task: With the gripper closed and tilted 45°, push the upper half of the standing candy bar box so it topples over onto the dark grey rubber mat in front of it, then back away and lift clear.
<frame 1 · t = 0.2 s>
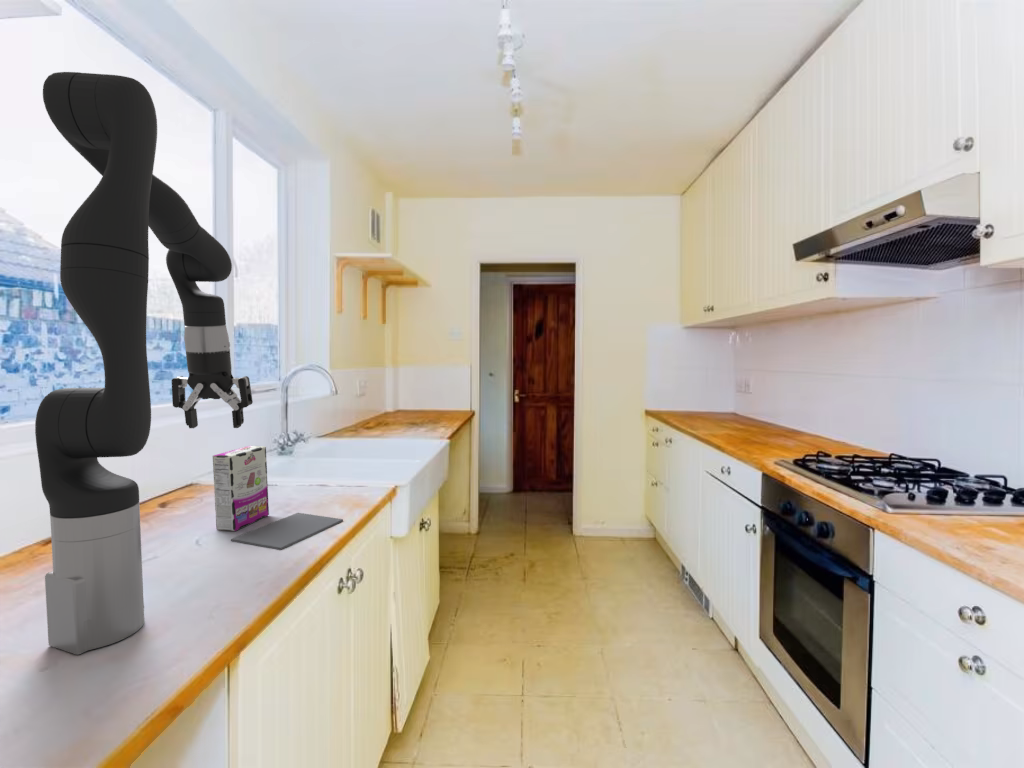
hand: (215, 427, 103), 23 cm above the countertop, tool pointing down, fingers open, 8 cm apart
candy bar box: (243, 523, 113), on the countertop
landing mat: (290, 530, 108), on the countertop
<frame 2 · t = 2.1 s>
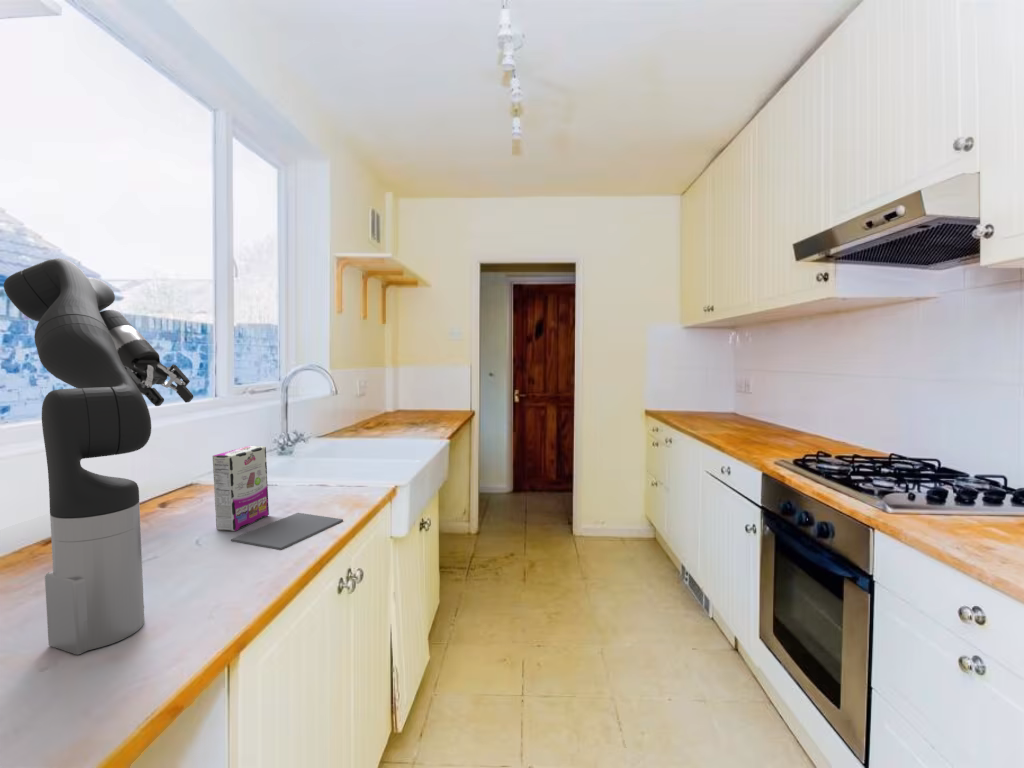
hand: (175, 401, 114), 27 cm above the countertop, tool tilted 45°, fingers open, 7 cm apart
nothing on the countertop moved.
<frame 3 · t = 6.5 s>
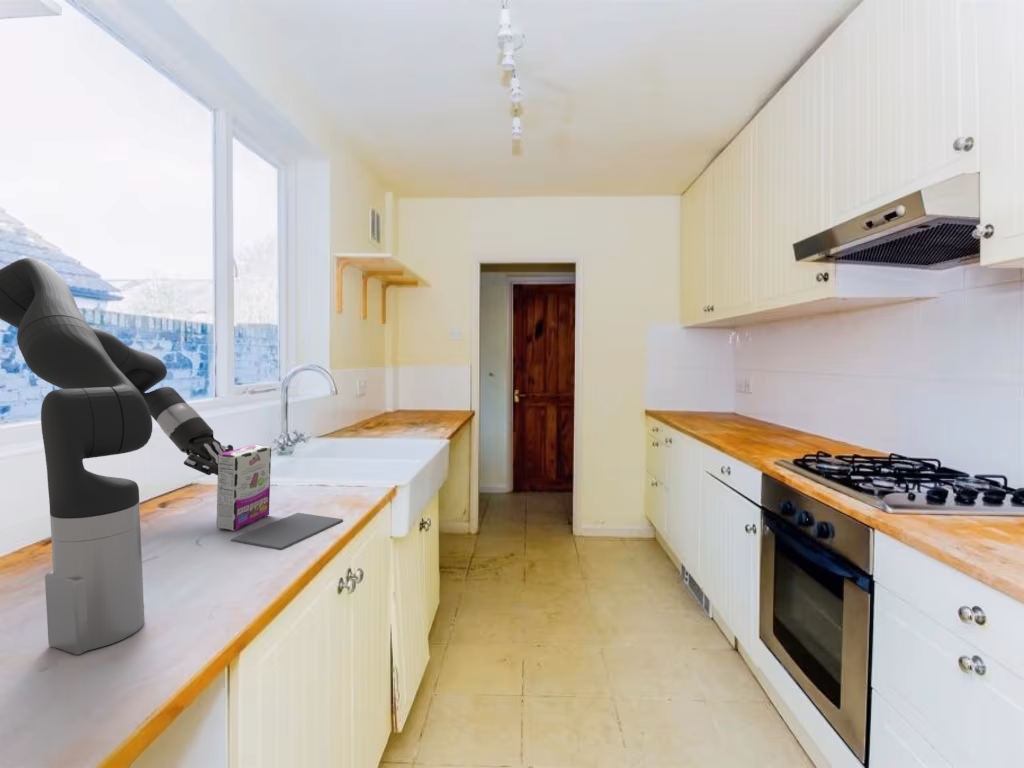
hand: (234, 483, 113), 9 cm above the countertop, tool tilted 45°, fingers closed
candy bar box: (242, 522, 113), on the countertop, touching gripper
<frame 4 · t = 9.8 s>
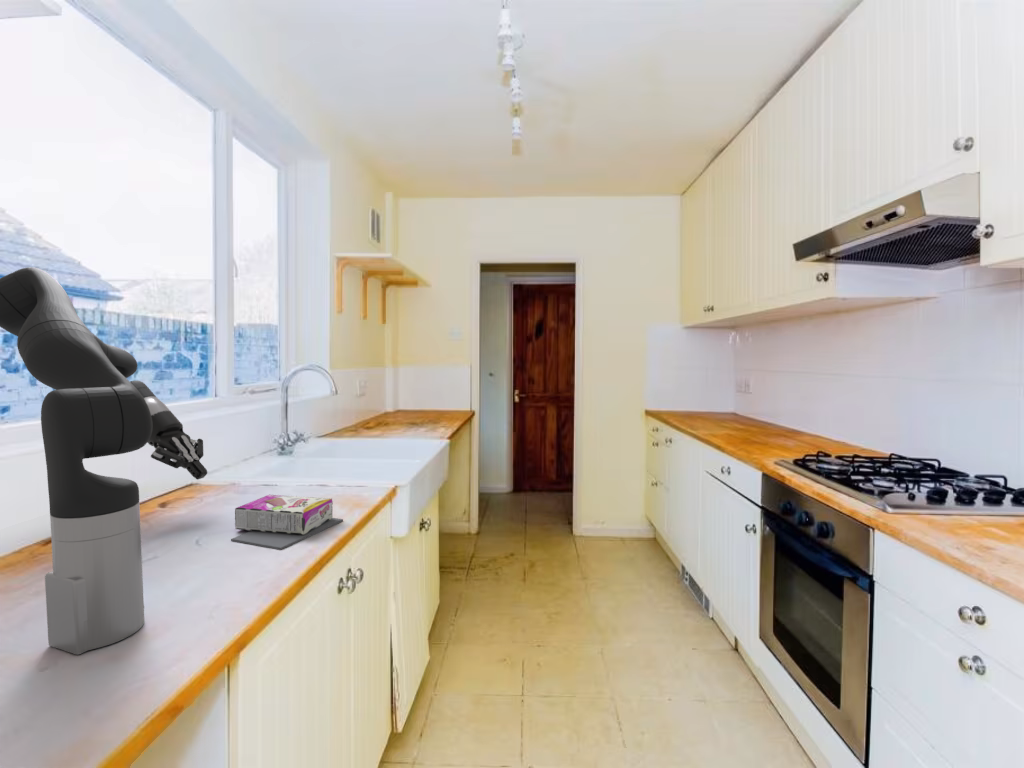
hand: (202, 476, 114), 10 cm above the countertop, tool tilted 45°, fingers closed
candy bar box: (251, 510, 112), point 3 cm above the countertop, touching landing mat
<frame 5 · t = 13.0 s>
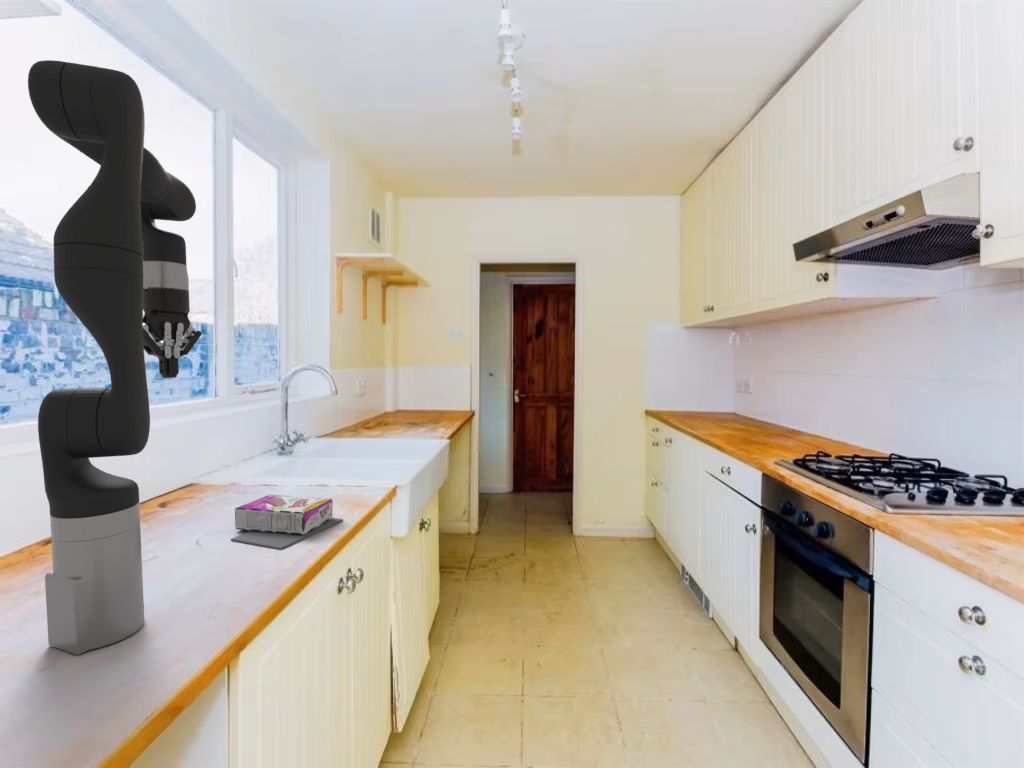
hand: (169, 377, 99), 33 cm above the countertop, tool pointing down, fingers closed
nothing on the countertop moved.
at the end: candy bar box tilted 91°; candy bar box touching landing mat; candy bar box inside the target area (11.7 cm from its centre), point 2.9 cm above the countertop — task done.
